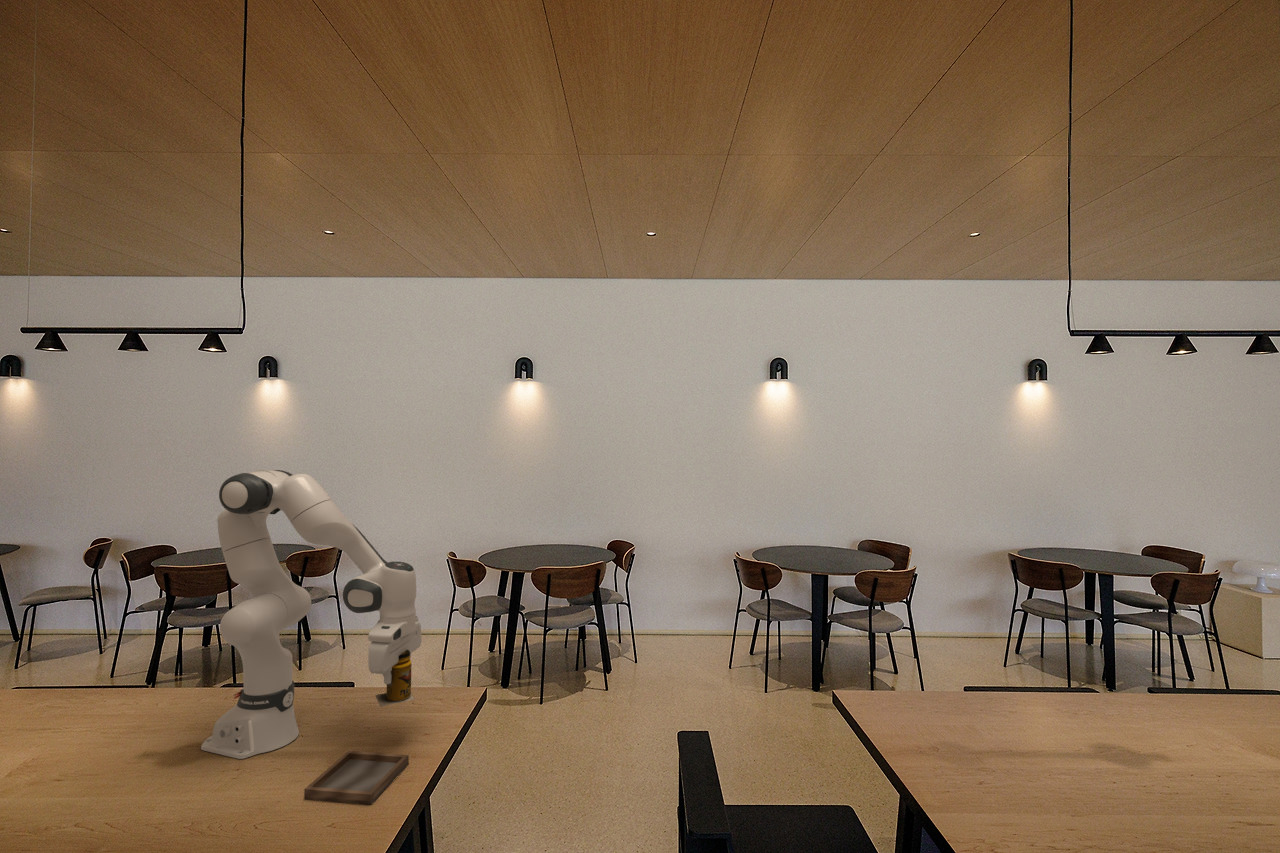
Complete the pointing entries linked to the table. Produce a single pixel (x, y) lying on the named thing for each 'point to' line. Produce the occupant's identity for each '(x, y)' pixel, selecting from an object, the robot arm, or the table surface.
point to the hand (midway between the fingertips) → (396, 677)
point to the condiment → (398, 683)
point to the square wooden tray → (357, 778)
